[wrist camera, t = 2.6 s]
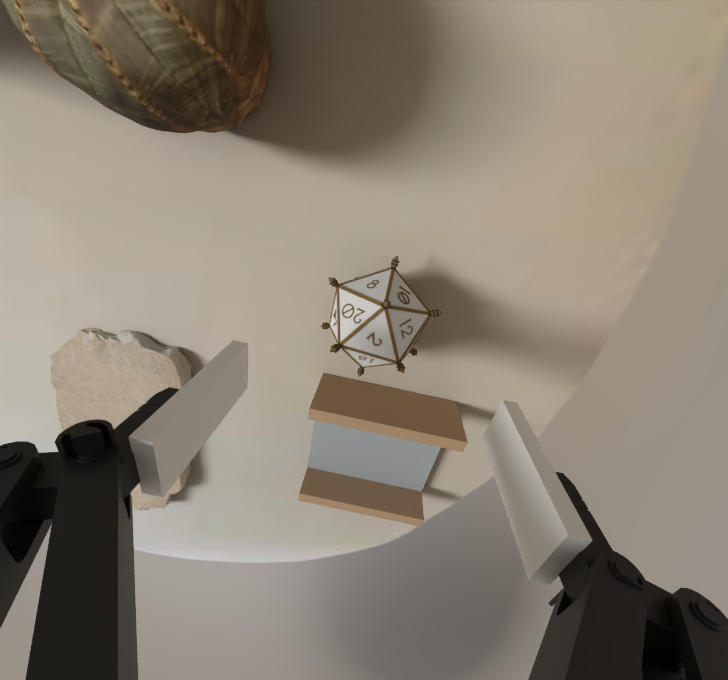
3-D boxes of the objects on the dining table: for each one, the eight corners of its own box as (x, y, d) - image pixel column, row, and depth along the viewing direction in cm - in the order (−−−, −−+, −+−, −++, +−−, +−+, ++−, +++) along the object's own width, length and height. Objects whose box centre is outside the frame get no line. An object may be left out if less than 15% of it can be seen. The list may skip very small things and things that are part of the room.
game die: (365, 300, 31) (286, 348, 25) (389, 224, 24) (289, 264, 19) (434, 356, 28) (363, 424, 22) (481, 287, 22) (399, 357, 16)
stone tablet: (203, 349, 32) (189, 361, 30) (188, 511, 45) (178, 527, 43) (45, 296, 31) (19, 304, 29) (79, 477, 44) (63, 492, 42)
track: (323, 373, 31) (309, 408, 26) (456, 401, 31) (467, 442, 26) (308, 466, 38) (295, 508, 33) (418, 490, 38) (421, 535, 33)
